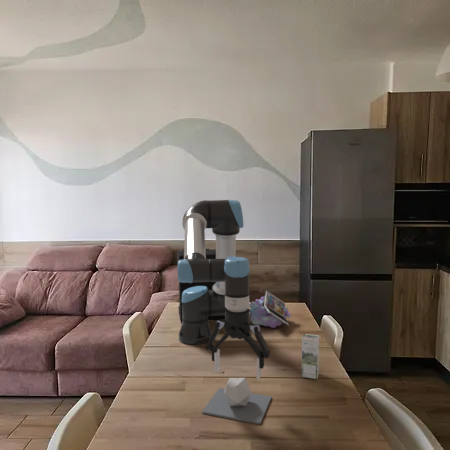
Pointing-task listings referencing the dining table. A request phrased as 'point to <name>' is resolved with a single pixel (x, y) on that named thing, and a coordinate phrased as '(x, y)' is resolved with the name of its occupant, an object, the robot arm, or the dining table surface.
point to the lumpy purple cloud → (268, 311)
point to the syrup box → (310, 356)
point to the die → (237, 392)
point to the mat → (238, 407)
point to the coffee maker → (183, 286)
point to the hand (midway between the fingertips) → (237, 374)
